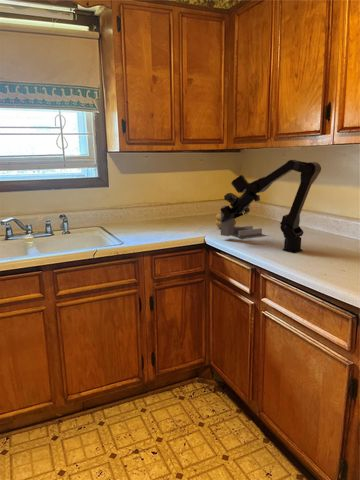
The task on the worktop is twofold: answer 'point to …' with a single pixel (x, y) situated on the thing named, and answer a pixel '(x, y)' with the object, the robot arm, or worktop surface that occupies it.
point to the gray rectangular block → (227, 226)
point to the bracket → (247, 232)
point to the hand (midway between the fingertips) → (225, 220)
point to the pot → (218, 221)
